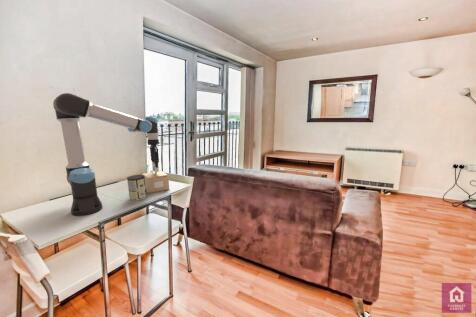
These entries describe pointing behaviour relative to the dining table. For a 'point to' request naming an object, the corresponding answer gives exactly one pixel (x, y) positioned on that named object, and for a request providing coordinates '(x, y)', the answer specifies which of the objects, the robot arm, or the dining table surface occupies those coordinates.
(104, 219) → the dining table surface
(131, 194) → the coffee can
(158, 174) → the flap
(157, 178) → the carton
